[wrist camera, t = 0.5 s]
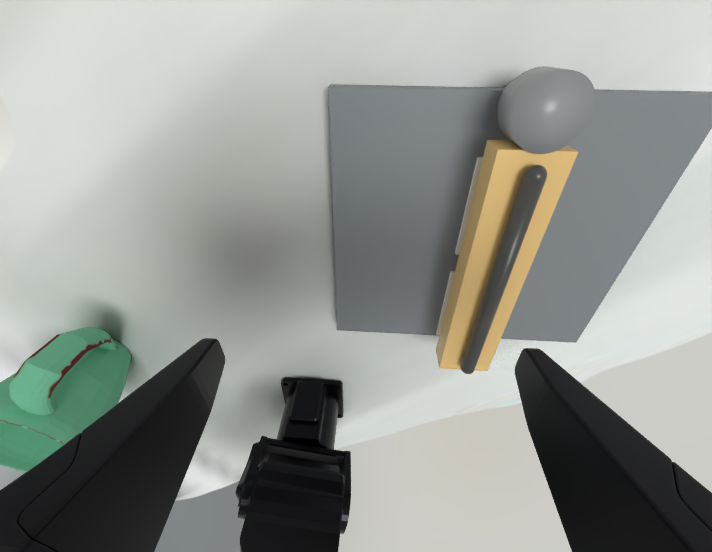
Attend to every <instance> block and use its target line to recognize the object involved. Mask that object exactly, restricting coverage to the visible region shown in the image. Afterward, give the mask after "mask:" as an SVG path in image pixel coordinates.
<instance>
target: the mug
mask: <svg viewBox="0 0 712 552" xmlns="http://www.w3.org/2000/svg"><path fill="white" fill-rule="evenodd" d="M130 362H131V354H130V352H129V350H128V349H127V348H126V347H125V346H124V345H122V344H121V343H120V342H118V341H116V340H114V339H112V338H111V336H110V335H109V334H108V333H106V332H105V331H103V330H101V329H97V328H93V327H86V328H82V329H78V330H74V331H70V332H67V333H63V334H59V335H57V336H55V337H54V338H53V339H52V340H50V341H49V342H48V343H47V344H45V345H44V346H43V347H42V348H40V349H39V350H38V351H37V352H35V353H34V354H33V355H32V356H30V357H29V358H28V359H27V360H26V361H25V362H24V363H23V364H22V366H21V367H20V369H19V370H18V371H17V373H15V374H13V375H12V376H10V377H9V378H7V379H5V380H4V381H2V382H1V383H0V465H2V466H5V467H9V468H12V469H15V470H19V471H23V472H27V471H29V470H30V469H32V468H33V467H34V466H36V465H37V464H39V463H40V462H41V461H43V460H44V459H45V458H47V457H48V456H49V455H51V454H52V453H54V452H55V451H56V450H58V449H59V448H60V447H62V446H63V445H64V444H66V443H67V442H68V441H70V440H71V439H72V438H73V437H75V436H76V435H77V434H79V433H82V431H83V430H84V429H85V428H87V427H88V426H89V425H91V424H92V423H93V422H94V421H96V420H97V419H98V418H100V417H101V416H102V415H104V414H105V413H106V412H108V411H109V410H110V409H111V408H113V407H114V406H115V405H117V404H118V402H119V400H120V397H121V394H122V391H123V388H124V385H125V382H126V378H127V374H128V370H129V366H130Z"/></svg>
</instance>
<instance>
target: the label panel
mask: <svg viewBox="0 0 712 552" xmlns="http://www.w3.org/2000/svg"><path fill="white" fill-rule="evenodd" d="M514 80H515V79H514ZM514 80H513V81H514ZM511 82H512V81H511ZM511 82H510V83H509V84H508V85H507V86H506V87H505V88H483V87H431V86H379V85H330V86H329V87H328V91H329V119H330V147H331V175H332V203H333V231H334V259H335V287H336V315H337V330H346V331H365V332H384V333H403V334H423V335H440V331H441V327H442V323H443V319H444V315H445V311H446V307H447V303H448V298H449V294H450V290H451V286H452V282H453V278H454V274H455V270H456V266H457V262H458V258H459V253H460V249H461V245H462V241H463V237H464V233H465V229H466V225H467V221H468V217H469V213H470V208H471V204H472V200H473V196H474V192H475V188H476V184H477V180H478V176H479V172H480V168H481V164H482V159H483V155H484V151H485V147H486V143H487V140H510V139H509V138H508V137H506V136H505V135H504V134H503V132H502V131H501V129H500V127H499V125H498V120H497V111H498V106H499V102H500V100H501V97H502V95H503V93H504V92H505V90H506V89H507V87H508V86H509V85H510V84H511ZM594 91H595V106H594V110H593V113H592V116H591V118H590V120H589V122H588V124H587V125H586V127H585V128H584V130H583V131H582V132H581V133H580V134H579V136H578V137H577V138H575V139H574V140H573V141H572V142H571V143H569V144H568V145H567V146H569V147H571V148H573V149H575V150H576V151H578V154H577V157H576V159H575V161H574V164H573V166H572V169H571V171H570V174H569V176H568V178H567V181H566V183H565V186H564V188H563V190H562V193H561V195H560V198H559V200H558V202H557V205H556V207H555V210H554V212H553V214H552V217H551V219H550V222H549V224H548V226H547V229H546V231H545V234H544V236H543V238H542V241H541V243H540V246H539V248H538V250H537V253H536V255H535V258H534V260H533V262H532V265H531V267H530V270H529V272H528V274H527V277H526V279H525V282H524V284H523V286H522V289H521V291H520V294H519V296H518V298H517V301H516V303H515V306H514V308H513V310H512V313H511V315H510V318H509V320H508V322H507V325H506V327H505V330H504V332H503V334H502V337H501V339H519V340H538V341H558V342H577V340H578V339H579V337H580V335H581V334H582V332H583V331H584V329H585V328H586V326H587V324H588V323H589V321H590V320H591V318H592V316H593V315H594V313H595V312H596V310H597V309H598V307H599V305H600V304H601V302H602V301H603V299H604V297H605V296H606V294H607V293H608V291H609V290H610V288H611V286H612V285H613V283H614V282H615V280H616V278H617V277H618V275H619V274H620V272H621V270H622V269H623V267H624V266H625V264H626V263H627V261H628V259H629V258H630V256H631V255H632V253H633V251H634V250H635V248H636V247H637V245H638V244H639V242H640V240H641V239H642V237H643V236H644V234H645V232H646V231H647V229H648V228H649V226H650V225H651V223H652V221H653V220H654V218H655V217H656V215H657V213H658V212H659V210H660V209H661V207H662V206H663V204H664V202H665V201H666V199H667V198H668V196H669V194H670V193H671V191H672V190H673V188H674V187H675V185H676V183H677V182H678V180H679V179H680V177H681V175H682V174H683V172H684V171H685V169H686V168H687V166H688V164H689V163H690V161H691V160H692V158H693V156H694V155H695V153H696V152H697V150H698V149H699V147H700V145H701V144H702V142H703V141H704V139H705V137H706V136H707V134H708V133H709V131H710V130H711V128H712V92H691V91H639V90H594Z"/></svg>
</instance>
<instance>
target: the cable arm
mask: <svg viewBox="0 0 712 552" xmlns="http://www.w3.org/2000/svg"><path fill="white" fill-rule="evenodd" d="M594 106H595V91H594V87H593V85H592V83H591V81H590V80H589V79H588V78H587V77H586V76H585V75H584V74H582V73H580V72H577V71H574V70H567V69H560V68H553V67H536V68H533V69H530V70H528V71H526V72H524V73H522V74H521V75H519V76H518V77H517V78H516V79H515V80H514V81H512V82H511V84H510V85H509V86H508V87H507V89H506V90H505V92H504V93H503V95H502V97H501V100H500V102H499V106H498V111H497V120H498V125H499V127H500V129H501V131H502V132H503V134H504V135H505V136H506V137H508V138H509V139H510V140H487V143H486V147H485V151H484V155H483V159H482V164H481V168H480V172H479V176H478V180H477V184H476V188H475V192H474V196H473V200H472V204H471V208H470V213H469V217H468V221H467V225H466V229H465V233H464V237H463V241H462V245H461V249H460V253H459V258H458V262H457V266H456V270H455V274H454V278H453V282H452V286H451V290H450V294H449V298H448V303H447V307H446V311H445V315H444V319H443V323H442V327H441V331H440V335H439V339H438V343H437V348H436V353H437V358H438V364H439V368H443V369H461V370H462V371H463V372H464V373H466V374H471V373H473V372H474V370H479V371H487V370H488V368H489V366H490V363H491V361H492V358H493V356H494V354H495V351H496V349H497V346H498V344H499V342H500V339H501V337H502V334H503V332H504V330H505V327H506V325H507V322H508V320H509V318H510V315H511V313H512V310H513V308H514V306H515V303H516V301H517V298H518V296H519V294H520V291H521V289H522V286H523V284H524V282H525V279H526V277H527V274H528V272H529V270H530V267H531V265H532V262H533V260H534V258H535V255H536V253H537V250H538V248H539V246H540V243H541V241H542V238H543V236H544V234H545V231H546V229H547V226H548V224H549V222H550V219H551V217H552V214H553V212H554V210H555V207H556V205H557V202H558V200H559V198H560V195H561V193H562V190H563V188H564V186H565V183H566V181H567V178H568V176H569V174H570V171H571V169H572V166H573V164H574V161H575V159H576V157H577V154H578V151H576V150H575V149H573V148H571V147H569V146H567V145H568V144H569V143H571V142H572V141H573V140H574V139H575V138H577V137H578V136H579V134H580V133H581V132H582V131H583V130H584V128H585V127H586V125H587V124H588V122H589V120H590V118H591V116H592V113H593V110H594Z"/></svg>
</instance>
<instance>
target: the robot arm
mask: <svg viewBox="0 0 712 552" xmlns="http://www.w3.org/2000/svg"><path fill="white" fill-rule="evenodd" d="M224 364H225V356H224V353H223V350H222V348H221V345H220V343H219V341H218V340H217V339H211V338H205V339H202V340H200V341H199V342H198V343H196V344H195V345H194V346H192V347H191V348H190V349H189V350H187V351H186V352H185V353H183V354H182V355H181V356H179V357H178V358H177V359H175V360H174V361H173V362H172V363H170V364H169V365H168V366H166V367H165V368H164V369H162V370H161V371H160V372H158V373H157V374H156V375H155V376H153V377H152V378H151V379H149V380H148V381H147V382H145V383H144V384H143V385H142V386H140V387H139V388H138V389H136V390H135V391H134V392H132V393H131V394H130V395H128V396H127V397H126V398H125V399H123V400H122V401H121V402H119V403H118V404H117V405H115V406H114V407H113V408H111V409H110V410H109V411H108V412H106V413H105V414H104V415H102V416H101V417H100V418H98V419H97V420H96V421H94V422H93V423H92V424H91V425H89V426H88V427H87V428H85V429H84V430H83V431H82V433H79V434H77V435H76V436H75V437H73V438H72V439H71V440H70V441H68V442H67V443H66V444H64V445H63V446H62V447H60V448H59V449H58V450H56V451H55V452H54V453H52V454H51V455H49V456H48V457H47V458H45V459H44V460H43V461H41V462H40V463H39V464H37V465H36V466H34V467H33V468H32V469H30V470H29V471H27V472H26V473H25V474H23V475H22V476H20V477H19V478H17V479H16V480H14V481H13V482H12V483H10V484H9V485H7V486H6V487H4V488H3V489H1V490H0V552H154V551H155V548H156V546H157V543H158V541H159V538H160V536H161V534H162V531H163V528H164V526H165V524H166V521H167V519H168V516H169V514H170V511H171V509H172V506H173V504H174V502H175V499H176V497H177V494H178V492H179V489H180V487H181V484H182V482H183V479H184V477H185V474H186V472H187V469H188V467H189V465H190V462H191V460H192V457H193V455H194V452H195V450H196V447H197V445H198V442H199V440H200V437H201V435H202V433H203V430H204V428H205V425H206V423H207V420H208V418H209V415H210V412H211V409H212V406H213V403H214V399H215V396H216V392H217V389H218V385H219V382H220V378H221V375H222V371H223V368H224ZM515 376H516V380H517V384H518V388H519V393H520V397H521V401H522V405H523V410H524V414H525V418H526V421H527V425H528V429H529V432H530V435H531V437H532V440H533V443H534V446H535V449H536V452H537V454H538V457H539V460H540V463H541V466H542V468H543V471H544V474H545V477H546V480H547V482H548V485H549V488H550V490H551V494H552V497H553V499H554V502H555V505H556V508H557V511H558V513H559V516H560V519H561V522H562V524H563V527H564V530H565V533H566V536H567V539H568V541H569V544H570V547H571V549H572V552H712V493H711V492H710V491H709V490H707V489H706V488H705V487H704V486H702V485H701V484H700V483H699V482H698V481H696V480H695V479H694V478H693V477H692V476H690V475H689V474H688V473H687V472H686V471H684V470H683V469H682V468H681V467H679V465H677V464H676V463H675V462H672V461H671V459H670V458H669V457H668V456H666V455H665V454H664V453H663V452H662V451H660V450H659V449H658V448H657V447H656V446H655V445H653V444H652V443H651V442H650V441H649V440H647V439H646V438H645V437H644V436H643V435H641V434H640V433H639V432H638V431H637V430H635V429H634V428H633V427H632V426H631V425H630V424H628V423H627V422H626V421H625V420H624V419H622V418H621V417H620V416H619V415H618V414H616V413H615V412H614V411H613V410H612V409H611V408H609V407H608V406H607V405H606V404H605V403H603V402H602V401H601V400H600V399H598V398H597V397H596V396H595V395H594V394H593V393H591V392H590V391H589V390H588V389H587V388H586V387H584V386H583V385H582V384H581V383H580V382H578V381H577V380H576V379H575V378H574V377H572V376H571V375H570V374H569V373H568V372H566V371H565V370H564V369H563V368H562V367H561V366H559V365H558V364H557V363H556V362H555V361H553V360H552V359H551V358H550V357H549V356H547V355H546V354H545V353H544V352H543V351H541V350H540V349H533V348H525V349H523V350H522V352H521V354H520V357H519V359H518V361H517V363H516V366H515ZM281 386H282V391H283V395H284V400H285V404H286V405H285V409H284V413H283V417H282V420H281V424H280V428H279V432H278V436H277V440H276V439H270V438H267V437H265V436H262V437H261V440H260V442H258V443H255V444H253V447H252V450H251V453H250V456H249V459H248V462H247V465H246V467H245V469H244V472H243V474H242V477H241V479H240V481H239V484H238V486H237V490H236V496H237V498H238V500H239V504H238V507H240V508H239V512H238V518H242V519H245V521H244V525H243V528H242V532H241V536H240V552H338V546H339V538H340V533H341V534H343V533H344V532H345V529H346V526H347V522H348V516H349V510H350V499H351V459H350V458H351V457H350V451H339V450H334V442H335V433H336V424H337V418H342V417H343V384H342V383H341V382H339V381H324V380H307V379H290V378H284V379H282V382H281Z"/></svg>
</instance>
